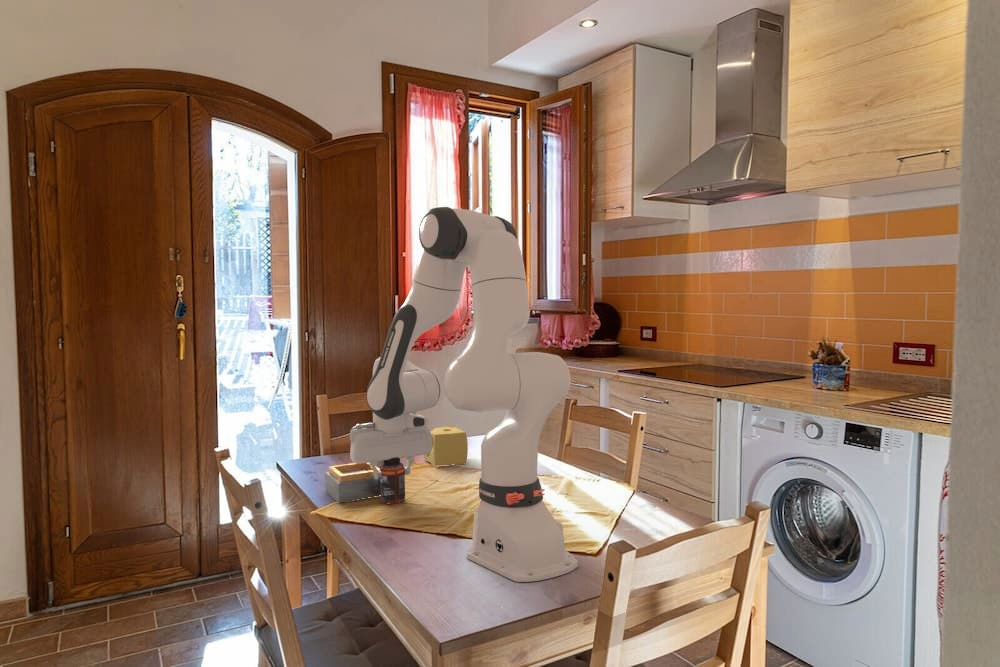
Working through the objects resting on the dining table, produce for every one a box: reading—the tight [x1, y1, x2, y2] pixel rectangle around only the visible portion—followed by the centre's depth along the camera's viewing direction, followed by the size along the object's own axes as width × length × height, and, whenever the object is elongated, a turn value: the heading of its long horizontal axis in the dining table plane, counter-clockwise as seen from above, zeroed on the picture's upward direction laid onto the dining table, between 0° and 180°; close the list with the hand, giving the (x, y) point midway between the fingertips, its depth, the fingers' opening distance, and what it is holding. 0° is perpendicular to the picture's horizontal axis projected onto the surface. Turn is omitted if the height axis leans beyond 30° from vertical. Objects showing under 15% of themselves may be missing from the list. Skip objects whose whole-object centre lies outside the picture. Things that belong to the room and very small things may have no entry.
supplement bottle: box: [380, 457, 406, 505], centre depth 160 cm, size 6×6×11 cm
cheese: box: [423, 426, 469, 466], centre depth 197 cm, size 10×11×10 cm
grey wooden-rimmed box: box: [324, 462, 381, 504], centre depth 167 cm, size 12×12×6 cm
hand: (392, 476), depth 160 cm, fingers closed on supplement bottle, 6 cm apart
